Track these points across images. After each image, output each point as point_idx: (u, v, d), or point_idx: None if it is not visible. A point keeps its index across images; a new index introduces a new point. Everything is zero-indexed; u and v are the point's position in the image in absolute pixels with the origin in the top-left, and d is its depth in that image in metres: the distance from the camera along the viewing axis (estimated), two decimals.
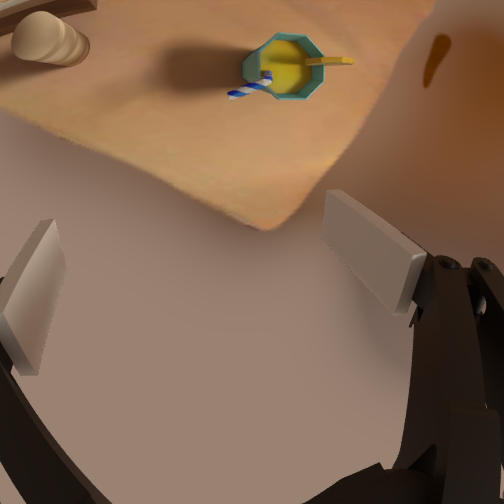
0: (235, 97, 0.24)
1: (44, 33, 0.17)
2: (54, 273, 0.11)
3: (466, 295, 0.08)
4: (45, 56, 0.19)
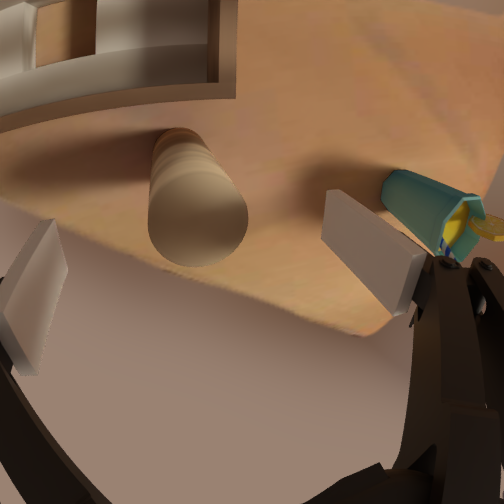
0: None
1: (222, 224, 0.14)
2: (54, 273, 0.11)
3: (466, 295, 0.08)
4: None
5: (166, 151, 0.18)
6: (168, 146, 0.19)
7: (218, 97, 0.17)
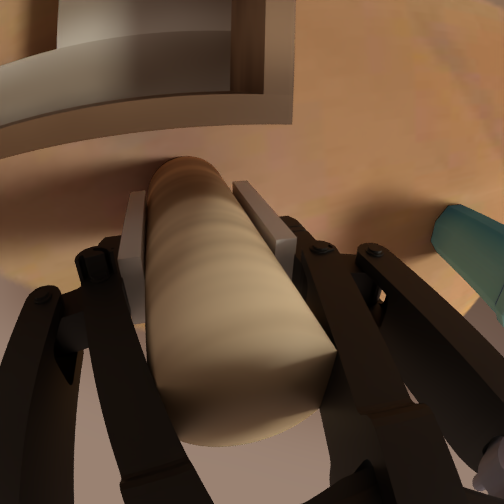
0: None
1: (294, 395, 0.07)
2: None
3: (350, 279, 0.09)
4: None
5: (170, 214, 0.11)
6: (172, 201, 0.12)
7: (262, 121, 0.10)
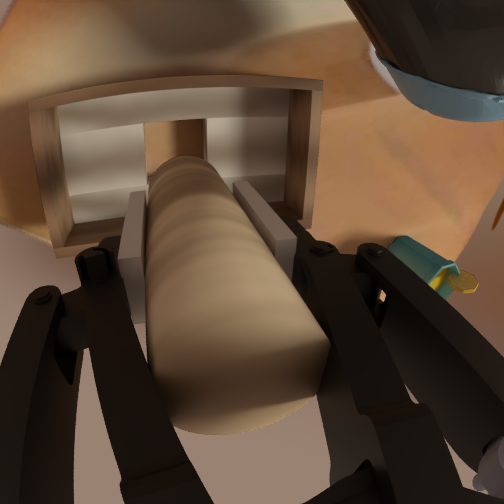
0: None
1: (288, 383, 0.07)
2: None
3: (350, 279, 0.09)
4: None
5: (169, 211, 0.11)
6: (172, 198, 0.12)
7: None
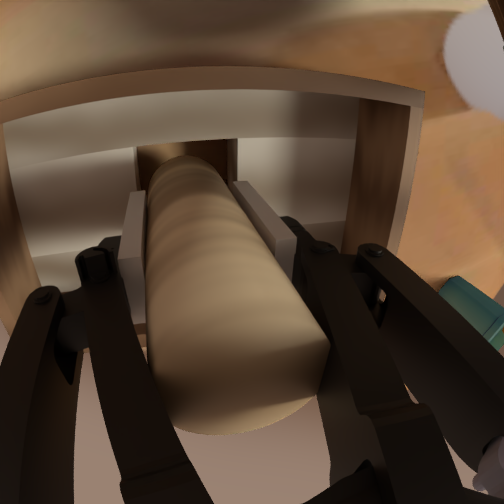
0: None
1: (288, 383, 0.07)
2: None
3: (350, 279, 0.09)
4: None
5: (169, 211, 0.11)
6: (172, 198, 0.12)
7: None
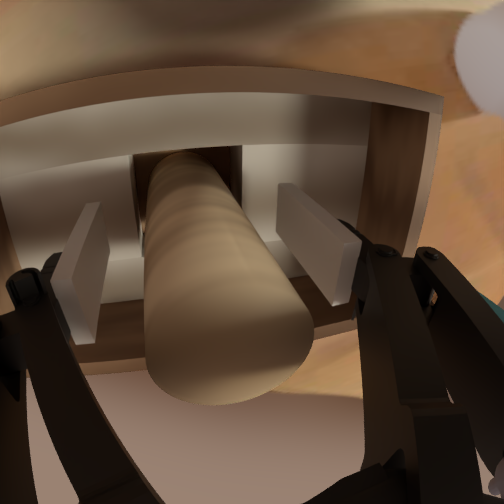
0: None
1: (273, 352, 0.08)
2: (102, 251, 0.13)
3: (409, 283, 0.09)
4: None
5: (167, 200, 0.12)
6: (170, 189, 0.13)
7: None
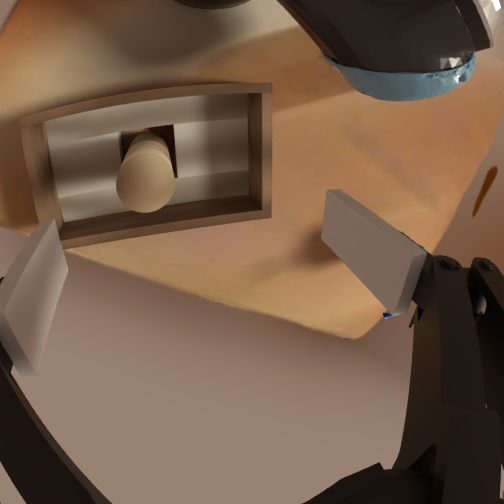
0: None
1: (159, 184, 0.23)
2: (54, 273, 0.11)
3: (466, 295, 0.08)
4: None
5: (132, 146, 0.27)
6: (135, 143, 0.27)
7: (262, 218, 0.34)
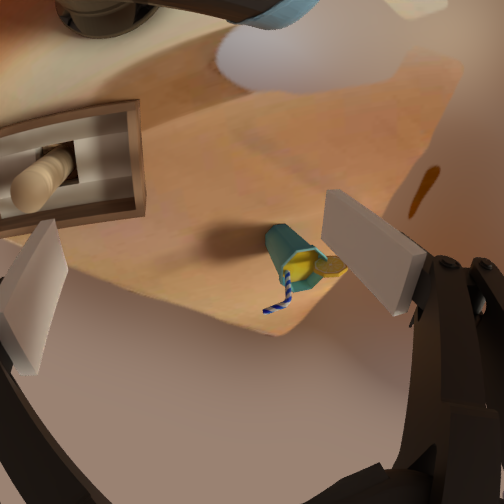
0: (267, 313, 0.42)
1: (36, 192, 0.27)
2: (54, 273, 0.11)
3: (466, 295, 0.08)
4: None
5: None
6: None
7: (136, 216, 0.37)
